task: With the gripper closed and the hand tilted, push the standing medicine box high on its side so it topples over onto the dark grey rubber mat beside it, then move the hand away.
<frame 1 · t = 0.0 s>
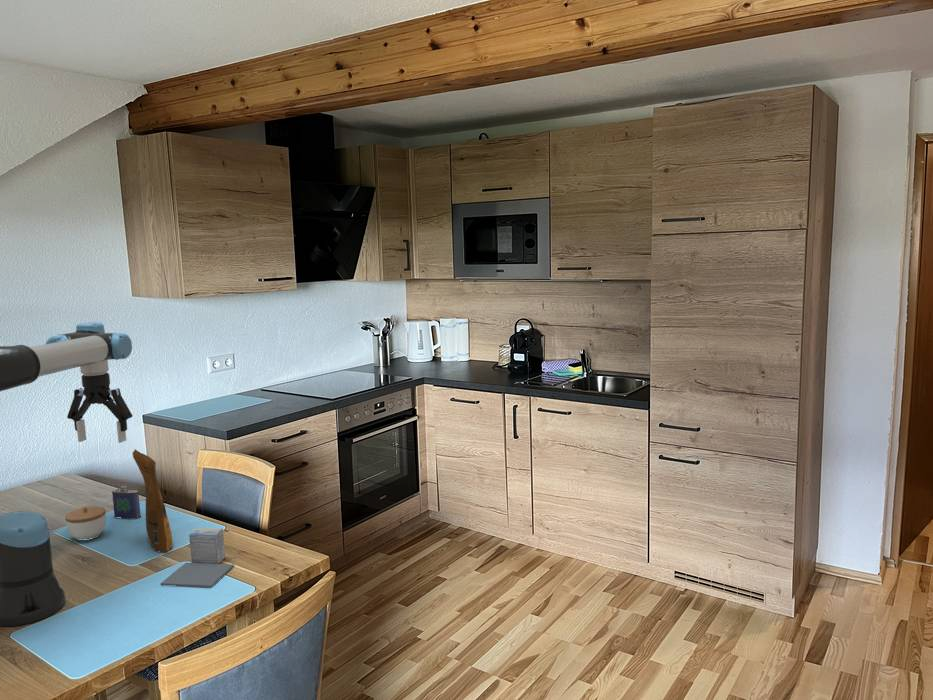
hand: (102, 441, 214), 28 cm above the table, tool pointing down, fingers open, 13 cm apart
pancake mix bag: (158, 544, 205), on the table
lidded jar: (88, 537, 211), on the table
medicine box: (208, 561, 193), on the table
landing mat: (198, 575, 183), on the table
flask: (127, 517, 227), on the table
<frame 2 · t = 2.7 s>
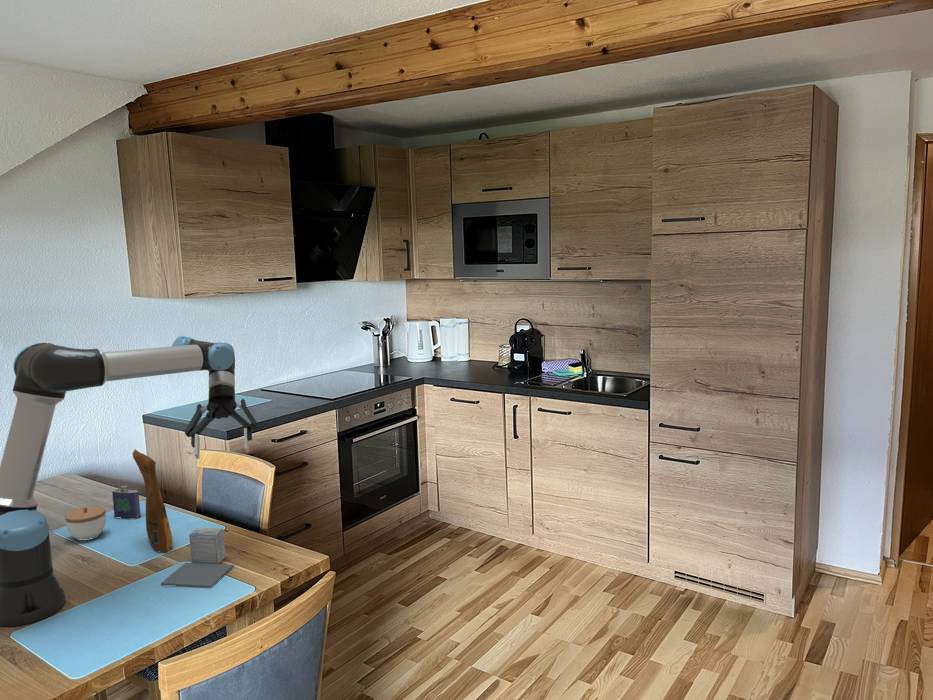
hand: (221, 453, 198), 28 cm above the table, tool tilted 40°, fingers open, 13 cm apart
nothing on the table moved.
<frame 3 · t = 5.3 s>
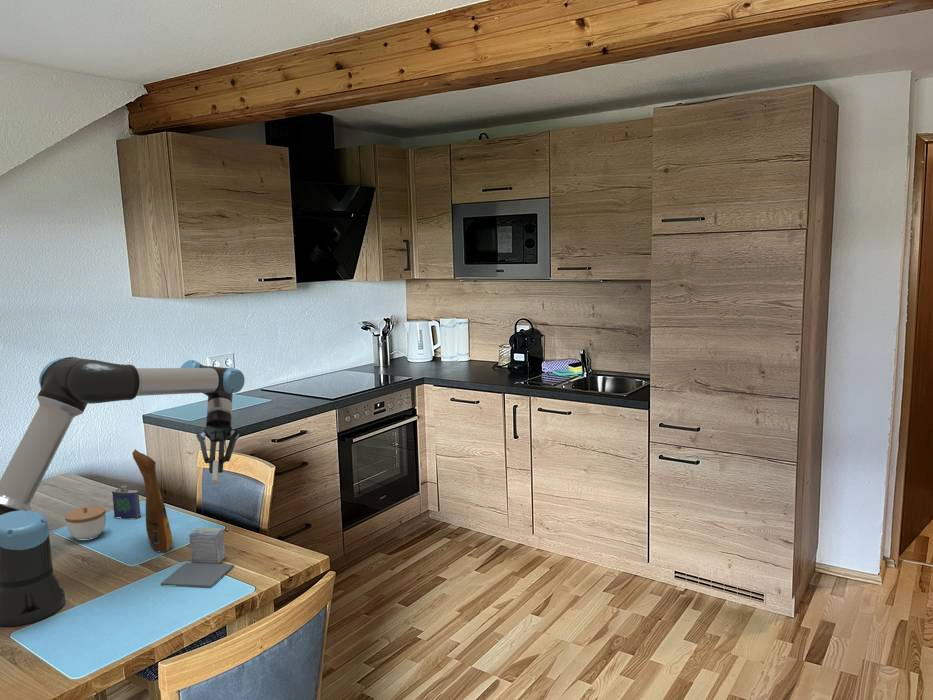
hand: (215, 481, 209), 16 cm above the table, tool tilted 45°, fingers closed
nothing on the table moved.
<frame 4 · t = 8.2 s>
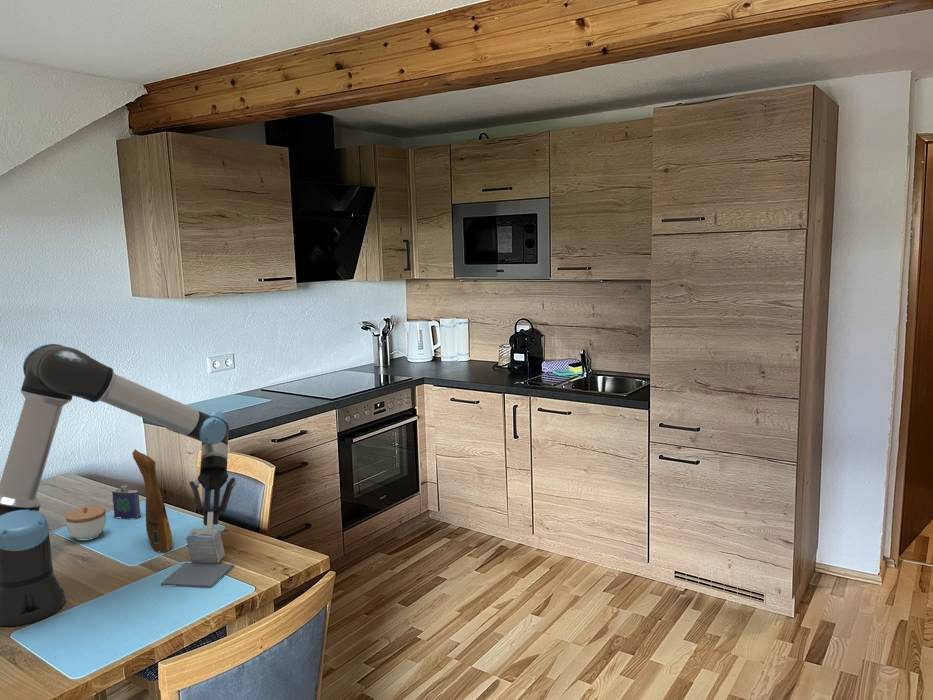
hand: (210, 535, 194), 6 cm above the table, tool tilted 45°, fingers closed
medicine box: (208, 559, 192), on the table, touching gripper
everything else where it was.
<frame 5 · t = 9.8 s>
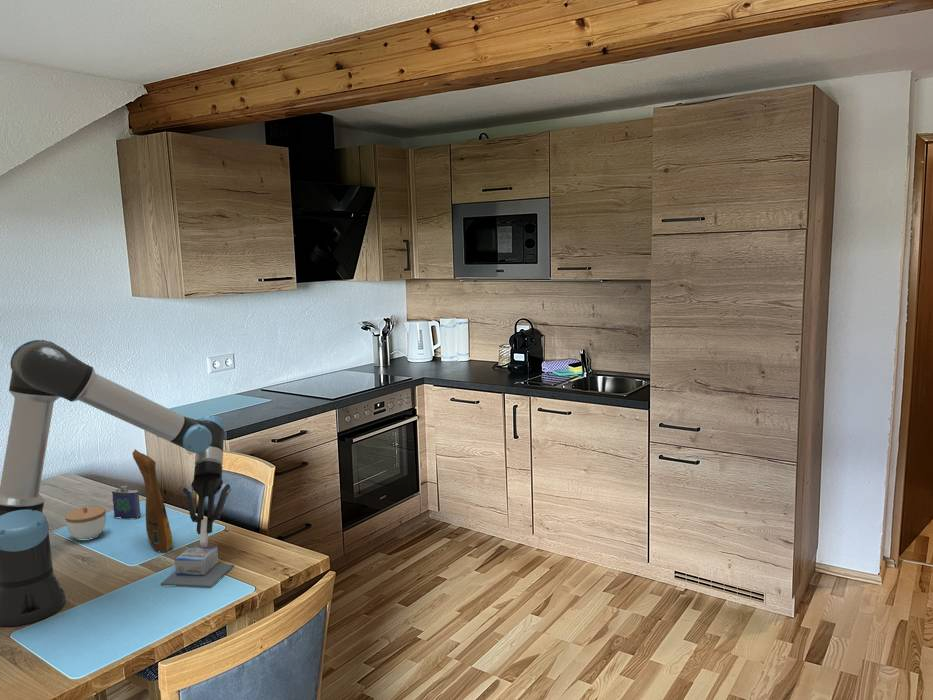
hand: (203, 544, 186), 7 cm above the table, tool tilted 45°, fingers closed
medicine box: (205, 553, 191), point 3 cm above the table, touching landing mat
everything else where it was.
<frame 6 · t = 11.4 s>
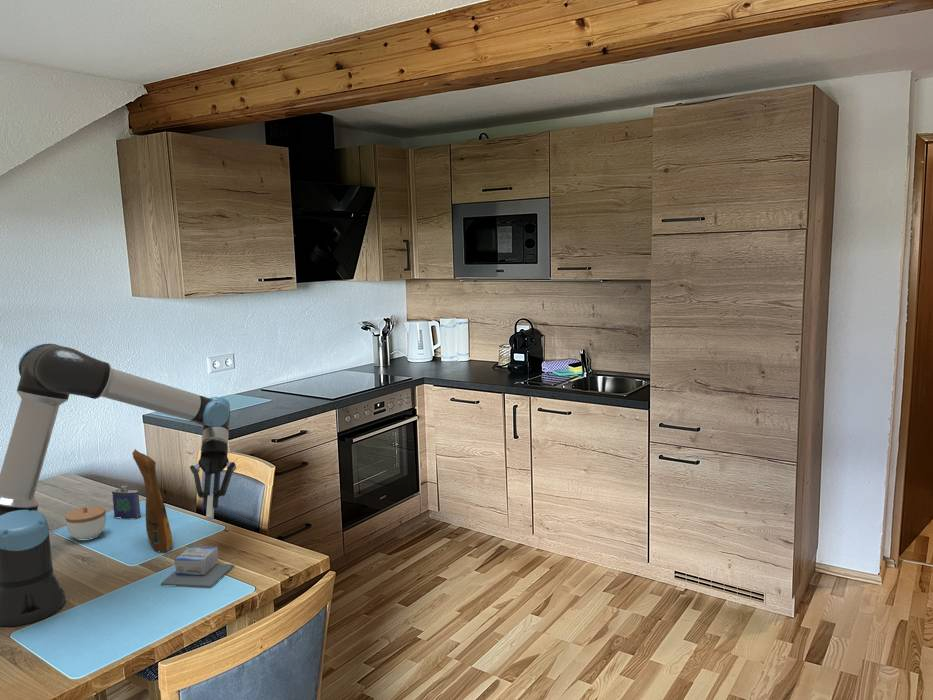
hand: (209, 518, 195), 11 cm above the table, tool tilted 45°, fingers closed
nothing on the table moved.
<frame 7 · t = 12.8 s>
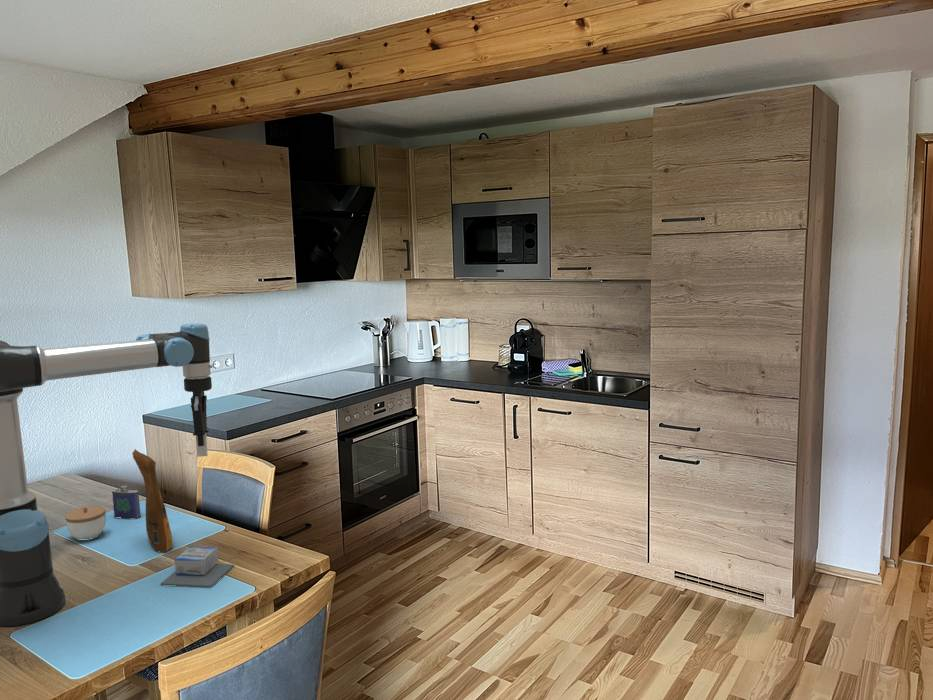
hand: (202, 455, 205), 25 cm above the table, tool pointing down, fingers closed
nothing on the table moved.
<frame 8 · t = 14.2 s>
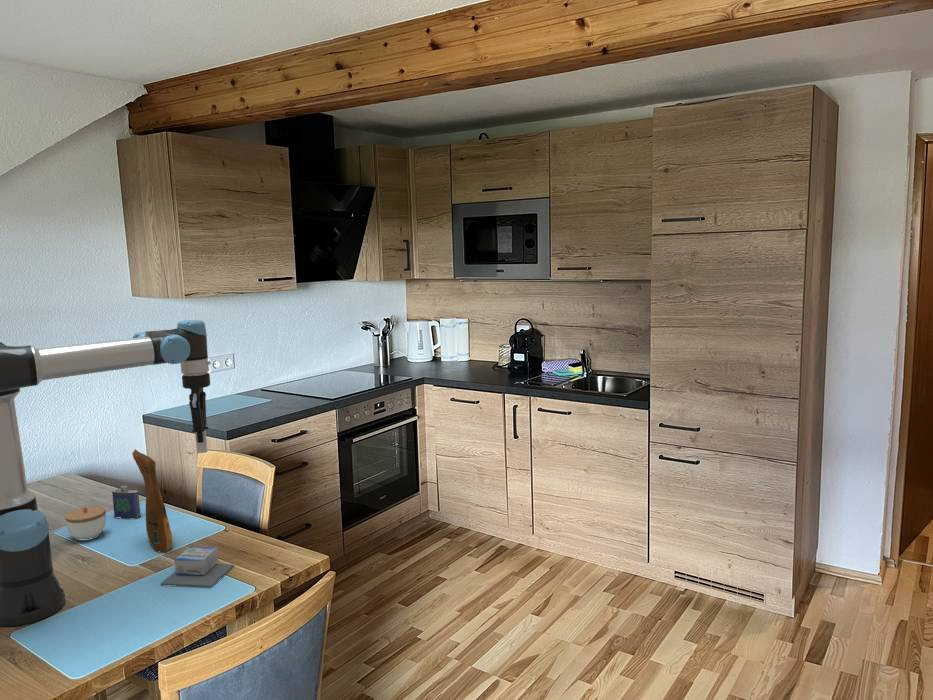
hand: (202, 452, 205), 26 cm above the table, tool pointing down, fingers closed
nothing on the table moved.
at the end: medicine box tilted 89°; medicine box touching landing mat; medicine box inside the target area (3.4 cm from its centre), point 2.7 cm above the table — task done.
